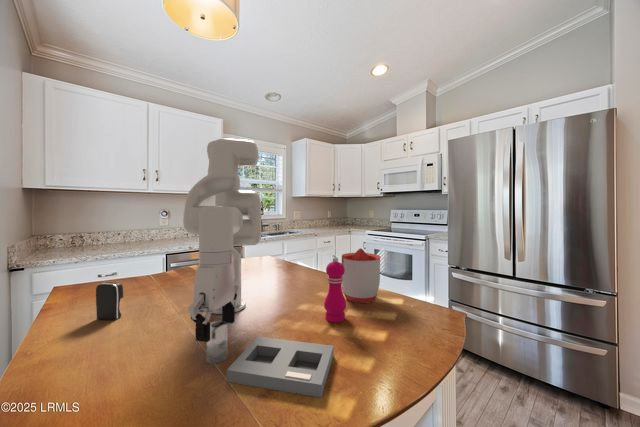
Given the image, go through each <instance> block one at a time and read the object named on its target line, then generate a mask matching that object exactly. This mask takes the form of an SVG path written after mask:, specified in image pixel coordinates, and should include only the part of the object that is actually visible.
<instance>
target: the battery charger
mask: <svg viewBox="0 0 640 427" xmlns="http://www.w3.org/2000/svg"><path fill="white" fill-rule="evenodd" d="M122 298H124V287H123V284H122V283H121V282H116V281H115V282H114V281H113V282H111V281H109V282H103V283H100V284H98V285H97V286H96V288H95V305H96V319H97V320H106V321H108V320H109V321H112V320H113V321H115V320H118V319H119V318H121V317H122V313H121V311H120V303H121V299H122Z"/></svg>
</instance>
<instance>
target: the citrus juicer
mask: <svg viewBox="0 0 640 427" xmlns="http://www.w3.org/2000/svg"><path fill="white" fill-rule="evenodd" d="M381 258H382V257H381V256H380V255H379V254H375V253H369V252H368V253H367V252H366V251H365V250H364V249H363V248H358V250H356V252H348V253H347V252H346V253H342V255H341V262H340V263H341V264H343V266H344V269H345V272H344V274H343V275H342V277H343V282H342V284H341V288H342V292H343V296H344V298H345V299H346V298H347V299H348V300H347V299H346V300H347V301H349V300H350V301H349V302H351V301H353V302H352V303H357V302H359V303H360V304H368V303H367V302H370V303H373V302H374V301H375V300H376V298H377V296H378V292H379V288H380V284H381V283H380V282H381V276H380V275H381Z"/></svg>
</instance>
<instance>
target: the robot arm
mask: <svg viewBox="0 0 640 427" xmlns="http://www.w3.org/2000/svg"><path fill="white" fill-rule="evenodd" d="M258 149H259V148H258V146H257V143H256V142H255V141H254V140H251V139H250V140H248V139H236V138H219V139H218V138H217V139H216V140H212V141H209V142H208V144H207V146H206V153H207V158H208V169H207V175H205V176H204V177H203V178H201V179H199V180H198V181H197V182H196V183H195V184H194V185H193V186H192V187H191V188H190V190H189V192H188V193H187V196H186V199H185V203H184V205H185V206H184V211H183V221H182V223H183V228H184V230H185V232H186V233H188V234H190V235H193V236H195V235H196V236H197V235H198V266H196V270H195V276H194V283H193V294H192V295H193V297H192V303H191V304H190V305H189V307H188V308H187V311H188V314H189V316H190V320H191V321H193V323H194V324H195V341H196V342H202V343H207V342H208V341H210V323H211V322H209V321H210V318H211V316H212V314H214V315H222V316H221V319H222V320H221V321H226V322H227V324H233V323H235V322H236V321H235V314H236V313H237V312H240V311H241V310H244V309H245V308H246V306H247V304H246V303H247V302H246V300H244V299H242V256H241V255H240V253H239V252H238V251H237V249H235V247H240V246H246V247H247V246H256V245H258V244H260V242H261V240H262V204H261V202H262V201H261V198H260V195H259V194H258V192H257V191H253V190H241V178H240V177H239V167H250V168H251V167H252V168H254V167H256V165H257V164H258V161H259V150H258ZM213 196H215V198H214V200H215V201H214V203H215V204H214V205H201V204H202V203H203V202H204V201H205V200H206V199H208V198H210V197H213ZM243 217H247V218H246V219H244V218H243ZM203 313H205V315H203Z"/></svg>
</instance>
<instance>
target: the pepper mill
mask: <svg viewBox="0 0 640 427" xmlns="http://www.w3.org/2000/svg"><path fill="white" fill-rule="evenodd" d="M341 263H342V262H339V258H338V257H336V256H335V257H333V258H332V261H331V262H329V263H328V264H327V265H326V268H325V271H326V275H327V282H328V292H327V294H326V297H325V299H324V303H323V307H324V309H325V320H326V321H328V322H330V323H341V322H343V321H344V320H345V318H346V316H345V310H346V308H347V301H346V297H345V295H344V292H343V288H342V282H343V277H342V275H343V274H344V272H345V269H344V266H343V264H341Z"/></svg>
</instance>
